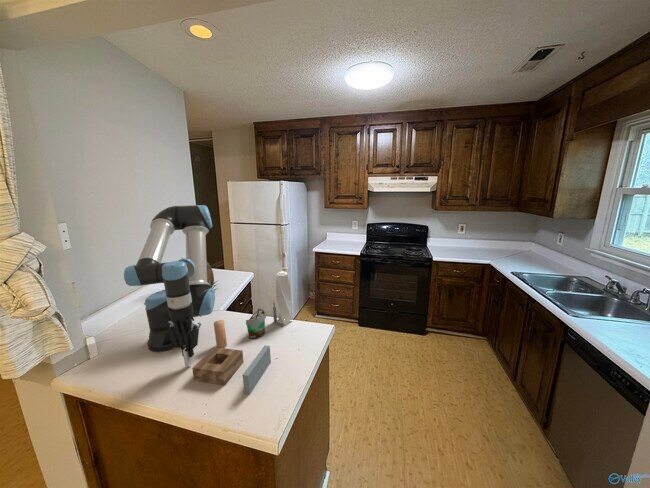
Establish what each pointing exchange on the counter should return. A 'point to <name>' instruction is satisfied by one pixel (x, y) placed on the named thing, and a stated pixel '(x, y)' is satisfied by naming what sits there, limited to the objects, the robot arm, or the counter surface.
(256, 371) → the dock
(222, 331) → the dowel
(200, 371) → the block
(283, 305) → the skyscraper
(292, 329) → the counter surface
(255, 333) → the food container
